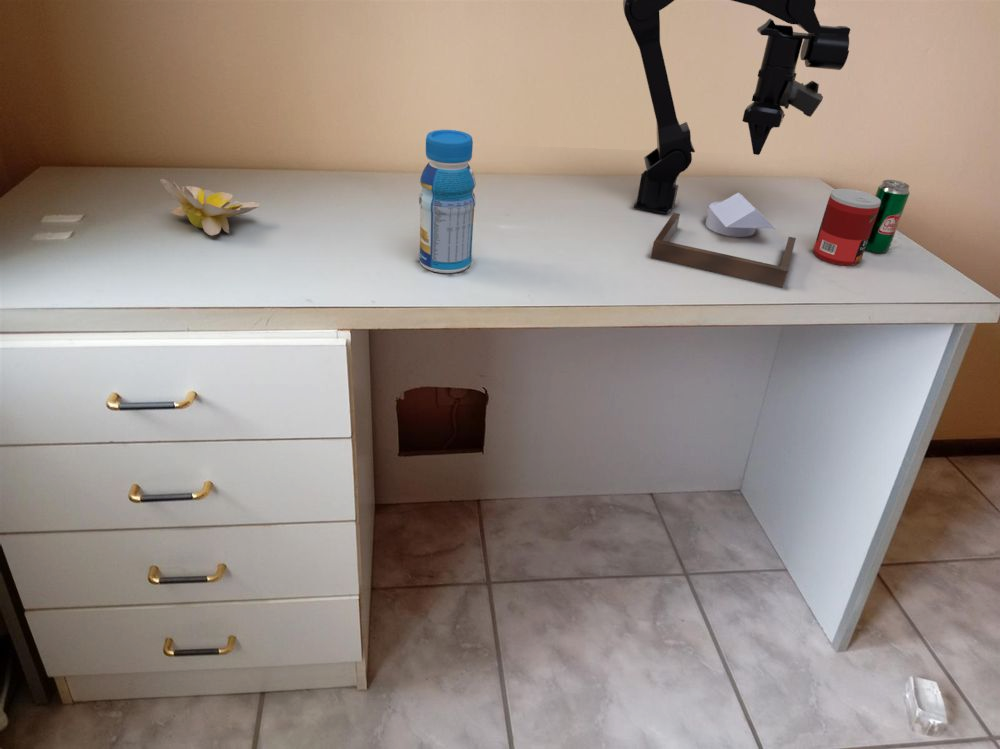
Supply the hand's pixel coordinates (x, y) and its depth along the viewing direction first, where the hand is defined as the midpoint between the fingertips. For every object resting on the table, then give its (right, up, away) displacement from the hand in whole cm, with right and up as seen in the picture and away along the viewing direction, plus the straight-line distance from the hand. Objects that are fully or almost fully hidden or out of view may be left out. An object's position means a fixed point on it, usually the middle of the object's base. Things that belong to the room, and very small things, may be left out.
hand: (756, 154), depth 143 cm
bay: (-9, -20, -10) cm, 24 cm away
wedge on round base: (-4, -15, 0) cm, 15 cm away
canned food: (+11, -20, -7) cm, 24 cm away
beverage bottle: (-56, -23, -21) cm, 64 cm away
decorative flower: (-94, -16, -15) cm, 97 cm away
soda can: (+20, -18, -3) cm, 27 cm away
